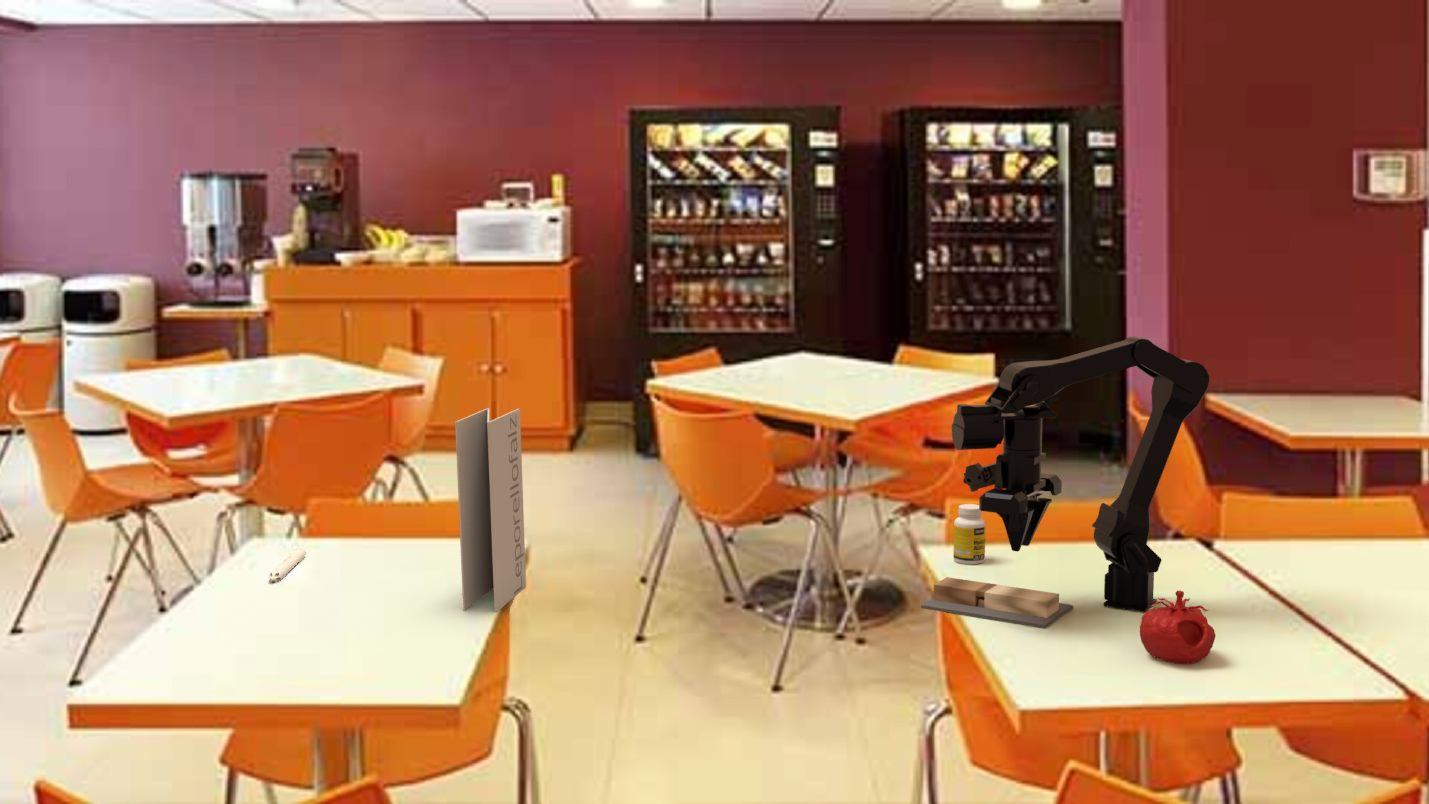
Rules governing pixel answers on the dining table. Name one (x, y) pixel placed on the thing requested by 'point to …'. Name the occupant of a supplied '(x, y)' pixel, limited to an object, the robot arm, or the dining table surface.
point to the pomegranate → (1177, 632)
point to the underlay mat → (997, 613)
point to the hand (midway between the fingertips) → (1020, 548)
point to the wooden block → (960, 591)
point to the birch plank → (1020, 601)
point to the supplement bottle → (969, 535)
